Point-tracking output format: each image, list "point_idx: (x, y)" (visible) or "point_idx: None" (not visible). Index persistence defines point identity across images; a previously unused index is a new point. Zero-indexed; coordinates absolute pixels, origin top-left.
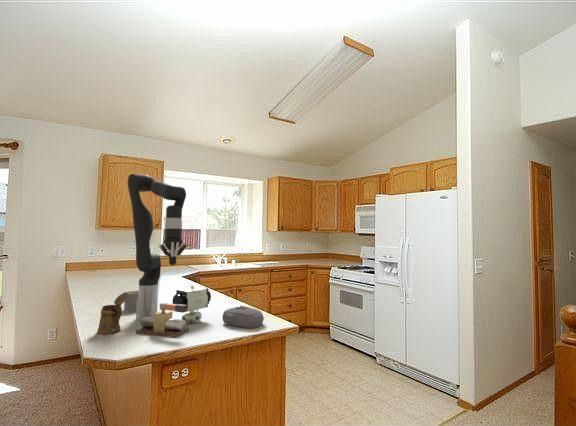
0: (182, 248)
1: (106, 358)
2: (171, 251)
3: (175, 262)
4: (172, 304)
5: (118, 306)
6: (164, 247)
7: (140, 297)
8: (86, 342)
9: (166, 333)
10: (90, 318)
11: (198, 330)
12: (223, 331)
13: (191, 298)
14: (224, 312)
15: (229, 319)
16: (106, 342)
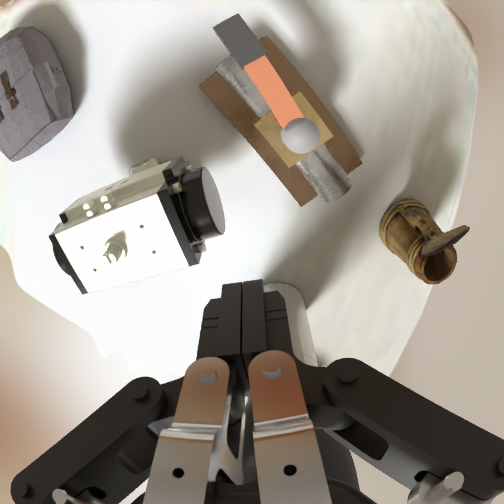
0: (71, 468)
1: (451, 14)
2: (308, 424)
3: (213, 307)
4: (270, 87)
5: (434, 233)
6: (467, 465)
7: (313, 346)
8: (463, 163)
9: (290, 64)
10: (380, 358)
11: (171, 72)
12: (108, 28)
13: (143, 177)
14: (54, 118)
15: (60, 74)
16: (436, 128)
